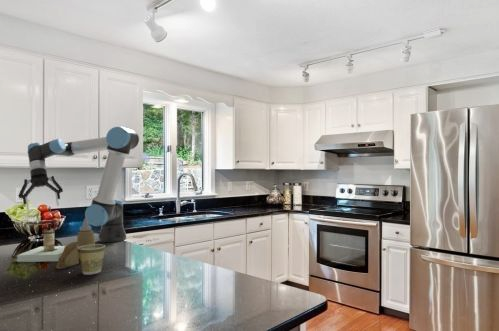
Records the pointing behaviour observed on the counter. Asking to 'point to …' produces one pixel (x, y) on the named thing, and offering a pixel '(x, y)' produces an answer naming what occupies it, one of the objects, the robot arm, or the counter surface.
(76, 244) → the rock
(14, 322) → the counter surface
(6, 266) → the counter surface
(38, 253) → the socket board
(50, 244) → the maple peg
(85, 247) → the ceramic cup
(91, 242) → the squeeze bottle
